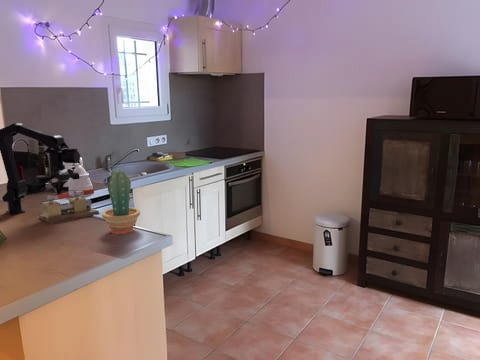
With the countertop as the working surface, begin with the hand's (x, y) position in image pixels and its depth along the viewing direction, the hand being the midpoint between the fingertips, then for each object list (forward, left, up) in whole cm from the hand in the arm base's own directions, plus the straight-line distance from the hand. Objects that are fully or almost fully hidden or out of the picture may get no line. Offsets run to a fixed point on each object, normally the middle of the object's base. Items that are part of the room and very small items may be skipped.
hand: (58, 195), depth 184 cm
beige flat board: (+6, +2, -9) cm, 11 cm away
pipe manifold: (+6, +2, -7) cm, 10 cm away
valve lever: (+6, -3, 0) cm, 7 cm away
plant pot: (+22, +19, -9) cm, 30 cm away
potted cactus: (+42, +7, -9) cm, 44 cm away
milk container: (-56, +32, -9) cm, 65 cm away
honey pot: (-33, +27, -9) cm, 43 cm away
